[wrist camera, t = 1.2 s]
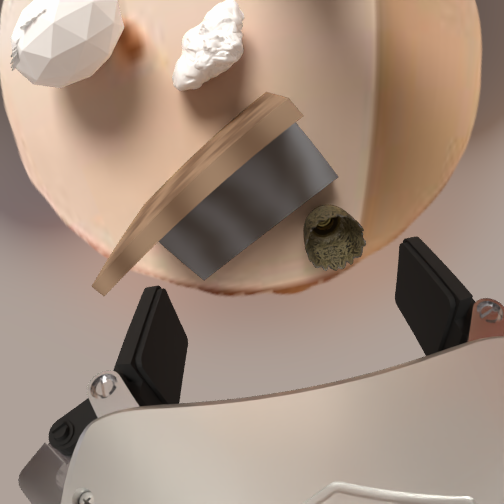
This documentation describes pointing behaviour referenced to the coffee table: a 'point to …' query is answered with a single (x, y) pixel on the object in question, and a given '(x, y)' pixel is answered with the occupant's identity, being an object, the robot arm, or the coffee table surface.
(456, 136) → the coffee table surface
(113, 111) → the coffee table surface
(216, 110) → the coffee table surface
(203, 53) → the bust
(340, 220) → the cup
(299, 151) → the board
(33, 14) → the geodesic sphere
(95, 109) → the coffee table surface
